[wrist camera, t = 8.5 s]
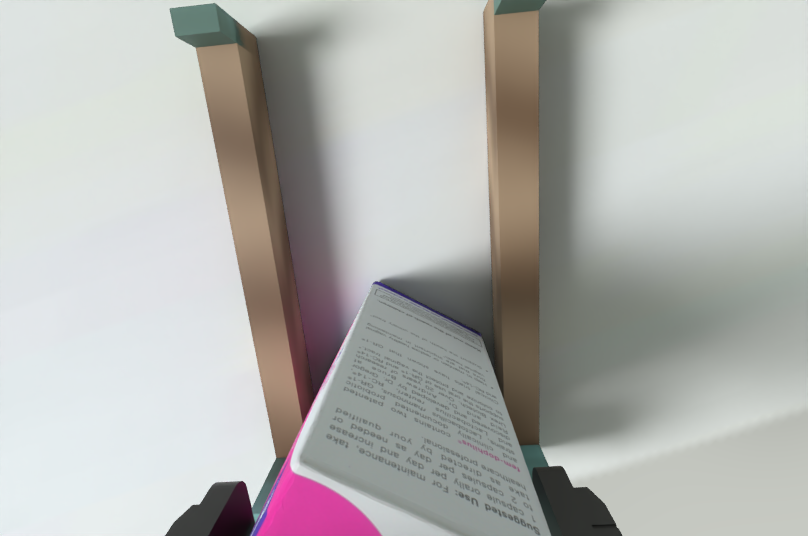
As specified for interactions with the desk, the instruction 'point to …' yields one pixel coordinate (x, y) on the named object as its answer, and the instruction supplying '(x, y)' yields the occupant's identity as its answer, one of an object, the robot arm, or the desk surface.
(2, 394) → the desk surface
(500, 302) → the guide lane
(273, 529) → the supplement box
